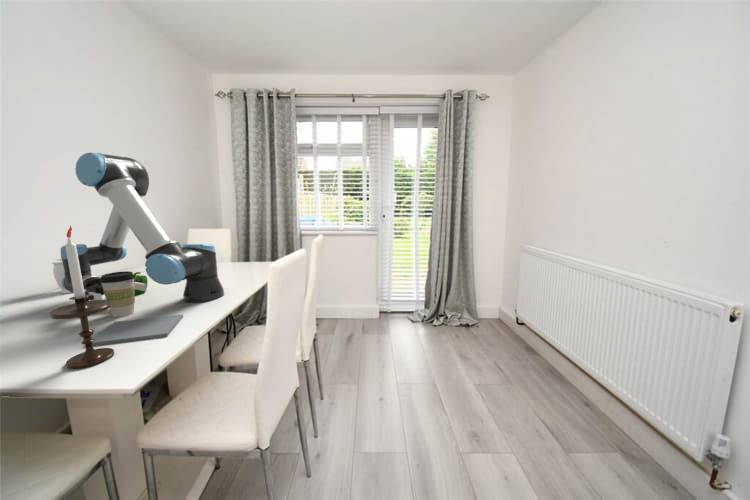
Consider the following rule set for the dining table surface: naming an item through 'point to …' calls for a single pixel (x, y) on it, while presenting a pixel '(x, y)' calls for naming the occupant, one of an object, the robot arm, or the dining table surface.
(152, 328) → the slate mat
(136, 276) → the bell pepper
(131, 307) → the coffee cup
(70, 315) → the candlestick
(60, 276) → the jar
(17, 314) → the dining table surface
